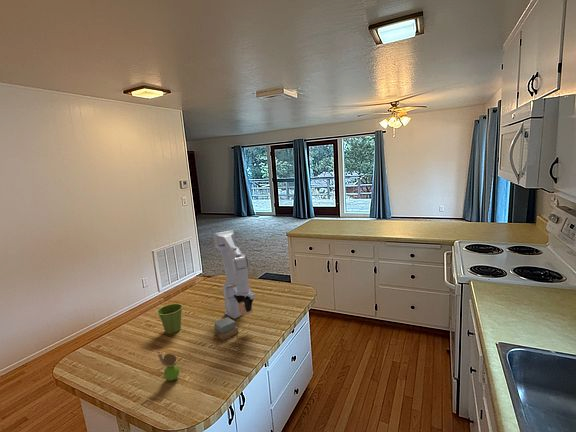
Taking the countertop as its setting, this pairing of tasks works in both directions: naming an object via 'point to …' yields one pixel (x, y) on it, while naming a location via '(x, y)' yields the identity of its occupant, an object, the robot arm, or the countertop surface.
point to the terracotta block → (243, 309)
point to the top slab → (225, 325)
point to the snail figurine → (169, 366)
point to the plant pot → (171, 317)
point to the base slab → (226, 333)
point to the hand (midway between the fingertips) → (245, 309)
